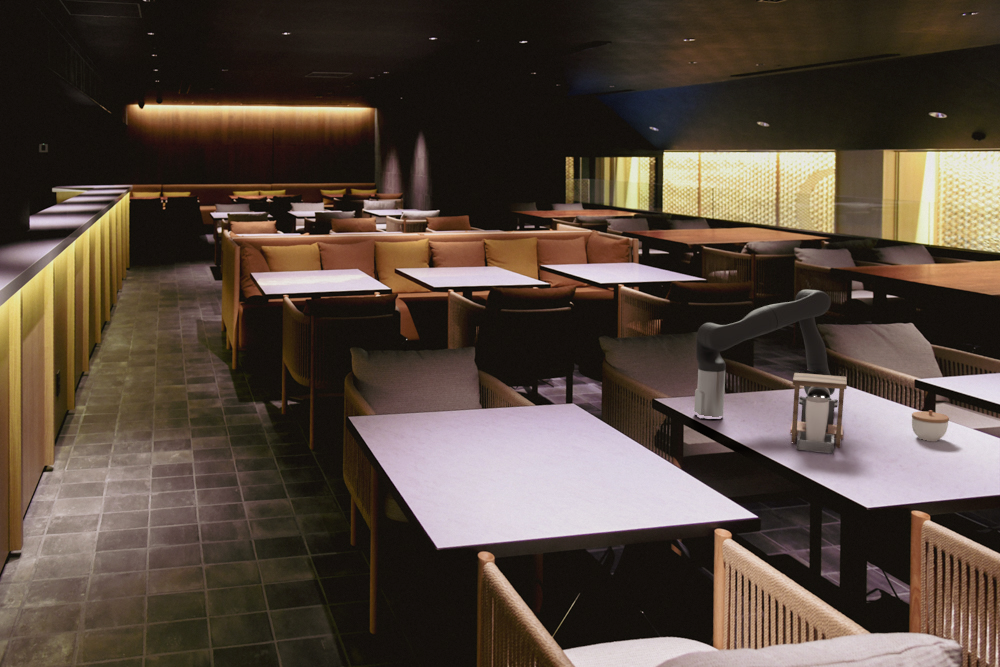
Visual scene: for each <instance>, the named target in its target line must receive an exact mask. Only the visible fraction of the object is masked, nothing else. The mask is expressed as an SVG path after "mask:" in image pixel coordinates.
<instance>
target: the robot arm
mask: <svg viewBox="0 0 1000 667" xmlns="http://www.w3.org/2000/svg"><path fill="white" fill-rule="evenodd" d="M831 304H832V301H831V297H830V296H829V294H827V293H826V292H824V291H822V290H818V289H802V290H800V291H798V292H797V294H796V295H795V298H794V300H793V301H789V302H788V301H787V302H786V301H785V302H780V303H773V304H769V305H764V306H762V307H758V308H756V309H754V310H752V311H750V312H749V313H748V314H746V316H744V317H743V318H742V319H741V320H739V321H736V322H733V323H732V322H731V323H729V324H717V323H714V322H705V323H703V324H702V325H701V326H700V327H698V330H697V333H696V346H695V348H696V349H695V350H696V351H695V352H696V354H695V355H696V356H695V357H696V360H697V364H698V365H697V366H698V369H697V370H698V371H697V388H696V389H695V390H694V410H693V412H694V411H695V412H697V413H698V414H699V415H704V416H712V417H719V416H722V415H723V416H724V409H725V408H724V405H725V388H726V386H725V384H726V362H725V360H724V359H723V357H722V356H721V353H720V352H723V351H726V350H728V349H730V348H732V347H734V346H735V345H739V344H740V343H742V342H744V341H747V340H750V339H754V338H757V337H759V336H763V335H766V334H769V333H772V332H774V331H776V330H779V329H782V328H785V327H787V326H790V325H792V324H794V323H797V322H799V326H800V329H801V334H802V338H803V342H804V347H805V348H804V349H805V358H806V368H807V370H808V371H809V372H813V373H818V374H820V375H830V376H832V374H831V372H830V370H829V365H828V354H827V348H826V344H825V342H824V340H823V338H822V336H821V334H820V332H819V329H818V327H817V324H816V319H815V317H821V316H822V315H824V314H825V313H827V312H828V310H830V307H831ZM803 389H804V392H805V394H806V396H805V397H804V396H799V404H798V405H801V406H802V400H803V398H809V397H821V398H826V399H828V400H833V399H832V398H831V396H832V395H834V393H835V390H836V388H824V387H811V386H803ZM834 400H835V407H834V409H835V408H838V402H839V399H837V398H836V399H834Z"/></svg>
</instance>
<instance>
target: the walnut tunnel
mask: <svg viewBox="0 0 1000 667" xmlns="http://www.w3.org/2000/svg"><path fill="white" fill-rule="evenodd" d="M830 375H831V374H830ZM830 375H822V374H816V373H815V374H814V373H802V372H801V373H799V372H794V374H793V379H792V386H794V391H793V392H794V393H793V408H792V410H793V411H792V420H791V424H792V434H791V438H790V440H791V441H790V443H791V442H793V443H792V444H794V443H795V444H796V442H797V436H798V435H797V421H799V420H798V418H799V405H800V404H799V397H800V387H804V386H811V387H824V388H835V390H836V389H838V390H839V391H838V407H837V418H836V425H837V430H836V439H835V449H840V448H841V440H842V439H841V427H842V425H843V411H844V410H843V409H844V407H843V406H844V398H845V396H844V395H845V390H847V386H848V384H847V376H843V375H841V376H840V375H831V376H830Z"/></svg>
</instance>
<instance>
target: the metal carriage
mask: <svg viewBox="0 0 1000 667" xmlns="http://www.w3.org/2000/svg"><path fill="white" fill-rule="evenodd" d="M806 399H807V398H803V400H802V405H801V418H800V421H801V422H806V414H805V410H806ZM834 407H835V399H832V400H829V414H828V420H827V424H829V425H834V421H835V408H834ZM834 448H835V438H834V435H832V434H825V439H824V442H818V441H809V440H806V432H802V431H798V435H797V436H796V450H798V451H809V452H816V453H825V454H826V453H827V454H834V450H835V449H834Z"/></svg>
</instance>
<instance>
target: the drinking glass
mask: <svg viewBox="0 0 1000 667" xmlns="http://www.w3.org/2000/svg"><path fill="white" fill-rule="evenodd" d="M805 414H806V440H809V441H818V442H824V439H825V432H826V426H827V420H828V414H829V400H828V399H826V398H821V397H809V398H807V399H806V410H805Z"/></svg>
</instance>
